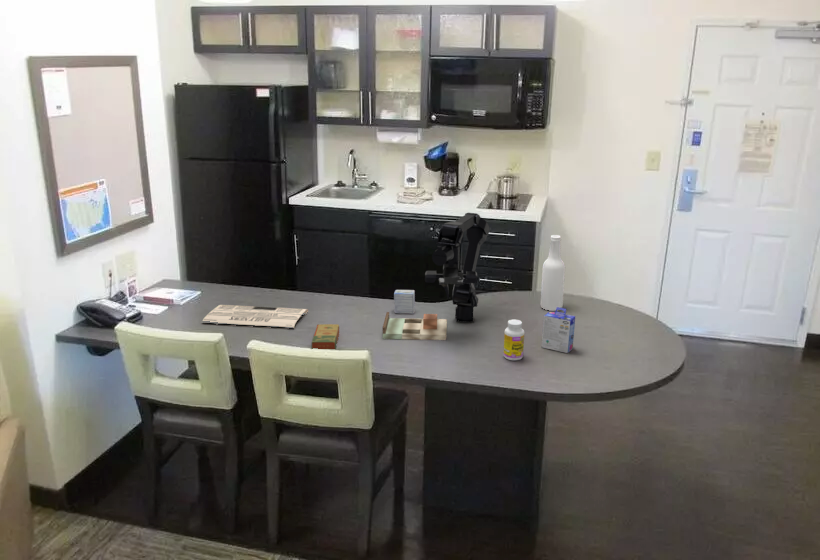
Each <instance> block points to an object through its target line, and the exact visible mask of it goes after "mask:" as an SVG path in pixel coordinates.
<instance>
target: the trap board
mask: <svg viewBox="0 0 820 560" xmlns="http://www.w3.org/2000/svg"><path fill="white" fill-rule="evenodd" d="M447 327H448V319H446V318H437V329H423V318H408V317H407V318H402V317H399V318H398V317H397V318H394V317H393V318H392V317H390V311H386V313H385V316H384V321H383V324H382V340H420V341H421V340H422V341H423V340H429V341H447V333H448V331H447Z"/></svg>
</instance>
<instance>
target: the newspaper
mask: <svg viewBox="0 0 820 560" xmlns="http://www.w3.org/2000/svg"><path fill="white" fill-rule="evenodd" d="M307 312H308V313H309V309H307V308H292V307H291V308H290V307H273V306H272V307H271V306H252V305H236V304H234V305H233V304H218V306H216V307H214V308H213V309H212V310H211V311H209V313H207V314H206V315H205V316H204V317H203V319H202V321H210V322H218V323H227V324H238V325H255V326H279V327H293V328H294V329H295V325H296V323H297V321H298V320H299V319H300V318H301V317H302V316H301V315H302V314H303V313H306V314H308V313H307Z"/></svg>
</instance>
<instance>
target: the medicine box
mask: <svg viewBox="0 0 820 560" xmlns="http://www.w3.org/2000/svg"><path fill="white" fill-rule="evenodd" d="M415 292H416V291H415V290H414V289H395V290H394V293H393V302H394V303H393V304H394V307H393V308H394V314H411V315H412V314H415V311H416V302H415V301H416V300H415V299H416V298H415V297H416V296H415V295H416V294H415Z"/></svg>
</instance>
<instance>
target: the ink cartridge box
mask: <svg viewBox="0 0 820 560" xmlns="http://www.w3.org/2000/svg"><path fill="white" fill-rule="evenodd" d="M557 310H559V311H557ZM560 310H561V311H563V312H561V311H560ZM566 313H567V308H564V307H562V308H559V307H557V308H556V311H548V312H547V313H546V314H544V315H543V320H542V321H543V323H542V339H541V348H543V349H546V350H547V349H548V350H552V351H556V352H561V353H565V354H568V353H569V352H571V351H572V350H573V349H574V339H575V326H576V325H575V324H576V315H572V314H571V315H570V314H566Z"/></svg>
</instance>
